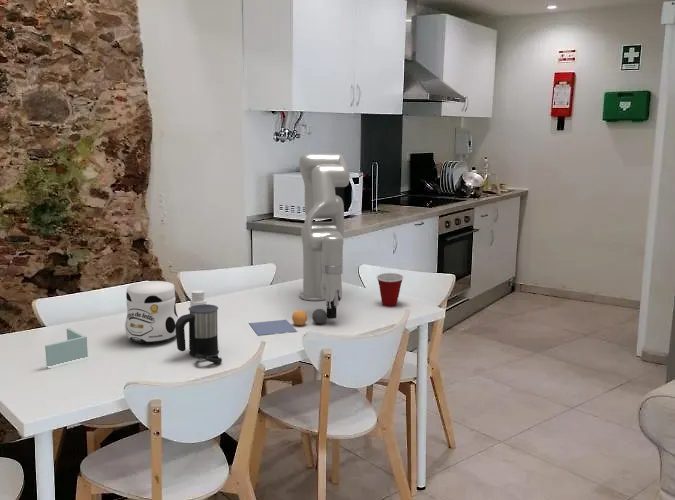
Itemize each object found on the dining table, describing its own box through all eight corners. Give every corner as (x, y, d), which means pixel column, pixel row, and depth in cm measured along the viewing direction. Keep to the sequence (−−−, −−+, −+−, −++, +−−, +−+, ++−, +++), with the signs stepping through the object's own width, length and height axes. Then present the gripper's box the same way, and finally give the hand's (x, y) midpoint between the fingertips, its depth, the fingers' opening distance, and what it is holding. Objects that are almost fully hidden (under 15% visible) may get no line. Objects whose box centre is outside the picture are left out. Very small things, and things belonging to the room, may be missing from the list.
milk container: (124, 349, 207) (121, 294, 204) (126, 332, 223) (124, 281, 220) (180, 345, 212) (178, 291, 208) (178, 328, 228) (176, 279, 224)
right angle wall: (70, 350, 207) (69, 327, 205) (88, 360, 198) (86, 336, 197) (32, 360, 198) (30, 336, 197) (48, 370, 190) (46, 346, 188)
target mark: (248, 323, 235) (248, 323, 235) (286, 320, 240) (286, 319, 240) (258, 335, 222) (258, 335, 222) (297, 331, 227) (297, 331, 227)
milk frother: (203, 346, 211) (202, 302, 208) (241, 355, 203) (240, 310, 200) (171, 359, 199) (169, 312, 196) (210, 370, 191) (209, 321, 188)
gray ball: (324, 314, 240) (314, 323, 238) (318, 304, 237) (307, 313, 236) (332, 319, 235) (321, 329, 234) (325, 308, 233) (314, 318, 231)
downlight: (205, 321, 237) (205, 294, 236) (186, 320, 237) (185, 293, 236) (210, 315, 245) (209, 289, 243) (191, 315, 245) (191, 289, 244)
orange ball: (290, 323, 236) (290, 309, 235) (304, 322, 238) (304, 307, 237) (294, 327, 231) (294, 313, 230) (309, 326, 233) (309, 311, 232)
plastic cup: (371, 306, 259) (371, 277, 257) (382, 299, 269) (383, 271, 266) (396, 310, 254) (397, 280, 252) (406, 303, 264) (407, 274, 261)
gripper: (315, 265, 240) (314, 313, 243) (329, 274, 226) (329, 324, 230) (334, 264, 243) (333, 311, 246) (349, 272, 229) (348, 322, 233)
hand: (331, 317), depth 238 cm, fingers closed
